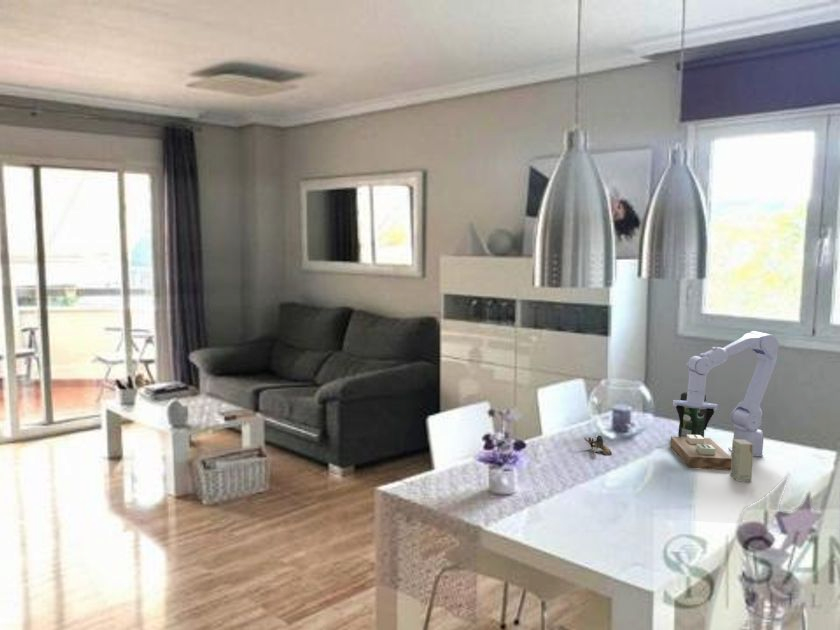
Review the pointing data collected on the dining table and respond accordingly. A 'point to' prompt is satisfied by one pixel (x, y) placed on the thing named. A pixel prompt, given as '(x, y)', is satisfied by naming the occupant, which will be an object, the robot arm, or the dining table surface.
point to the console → (700, 455)
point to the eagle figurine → (599, 445)
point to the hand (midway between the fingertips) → (692, 428)
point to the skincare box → (742, 460)
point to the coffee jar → (692, 420)
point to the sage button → (705, 449)
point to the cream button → (695, 439)
